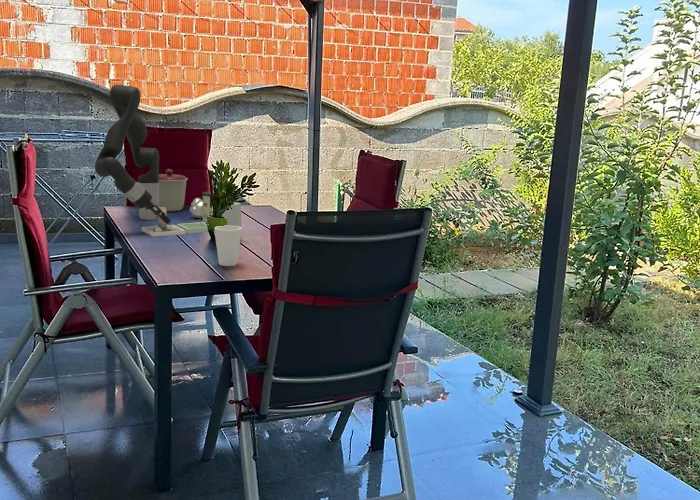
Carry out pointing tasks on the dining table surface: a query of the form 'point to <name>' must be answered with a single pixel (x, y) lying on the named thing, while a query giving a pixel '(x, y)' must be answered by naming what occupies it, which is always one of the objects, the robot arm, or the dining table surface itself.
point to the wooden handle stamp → (160, 222)
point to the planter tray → (193, 227)
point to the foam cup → (228, 244)
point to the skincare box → (233, 215)
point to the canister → (172, 191)
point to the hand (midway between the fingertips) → (166, 221)
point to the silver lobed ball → (197, 208)
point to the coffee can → (207, 205)
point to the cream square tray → (150, 231)
